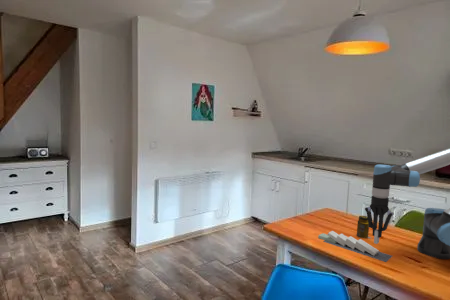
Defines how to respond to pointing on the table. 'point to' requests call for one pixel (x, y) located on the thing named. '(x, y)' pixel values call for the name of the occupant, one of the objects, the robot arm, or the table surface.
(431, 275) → the table surface
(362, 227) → the condiment
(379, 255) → the mat
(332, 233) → the domino
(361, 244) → the domino
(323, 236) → the domino
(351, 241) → the domino
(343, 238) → the domino
